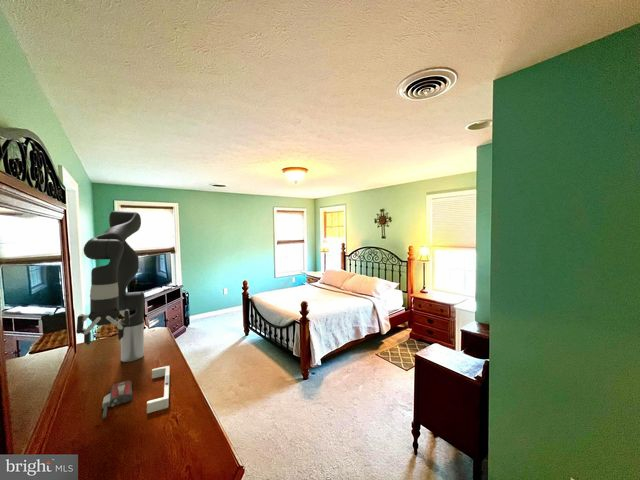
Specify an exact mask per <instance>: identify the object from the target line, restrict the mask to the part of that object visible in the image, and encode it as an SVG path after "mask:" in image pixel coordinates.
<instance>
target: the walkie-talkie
mask: <svg viewBox="0 0 640 480" xmlns="http://www.w3.org/2000/svg"><path fill="white" fill-rule="evenodd" d="M132 400H133V382H132V380H129V379H127V380H124V381H121V382H116V383H114V384H113V385H111V387H110V390H109V393H108V394H107V395H105V396H104V397H103V399H102V404H101V408H102V409H103V411H102V419H106V418H107V415H108V408H109V407H114V406H118V405H120V404H126V403H128V402H131V401H132Z"/></svg>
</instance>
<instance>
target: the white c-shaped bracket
mask: <svg viewBox="0 0 640 480" xmlns="http://www.w3.org/2000/svg"><path fill="white" fill-rule="evenodd" d="M170 368H171V367H170V365H165V366H161V367H156V368H152V369H151V371H152V372H151V379H157V378H162V377H164V385H163V386H164V387H163V390H164V391H163V397H159V398H155V399H151V400H148V401H147V402H146V414H150V413H154V412H156V411H161V410H165V409H168V408H169V405H170V404H169V398H170V397H169V396H170V375H171V374H170Z"/></svg>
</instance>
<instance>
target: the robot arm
mask: <svg viewBox="0 0 640 480" xmlns="http://www.w3.org/2000/svg"><path fill="white" fill-rule="evenodd" d="M108 223H109V228H107V229H106V230H105V231H104V232H103V233H102V234H99V235H97V236H94V237H92V238H90V239H88V240H87V242H86V243H85V244H84V246H83V253H84V255H85V257H86V258H88V259H89V260H95V261H96V260H109V262H108V263H107V264H106V265H105V264H104V265H100V266H99V265H98V266H95V267H92V269H91V272H90V275H91V279H90V282H91V283H90V284H91V285H90V290H89V292H90V294H89V299H90V300H89V301H90V305H89V306H90V307H89V308H90V311H89V314H84V313H80V314H79V315H78V316H77V318H76V319H77V320H76V330H75V332H76V334H77V335H78V334H82V335H83V342H84V344H86V345H87V346H90V345H91V343H92V332H91V331H92V329H93V328H95V326H98V327H100V326H104V325H105V326H108V325H113V326H114V327H117V328H118V329H117V330H118V331H117V332H118V333H117V335H118V336H117V337H118V339H117V340H118V341H120V361H121V362H123V363H124V362H125V363H126V362H127V363H129V362H133V361H134V362H135V361H137V360H139V359H142V358H143V357H144V354H145V353H144V350H145V349H144V343H145V342H144V341H145V340H144V339H145V337H144V336H145V335H144V332H145V328H144V327H145V326H144V325H145V321H144V318H145V317H144V316H145V301H146V299H145V297H146V296H145V293H144V292H143V291H133V292H132V291H131V292H128V291H127V288H128V286H129V284H130V282H131V281H132V280H133V279H135V276H136V275H137V274H138V272H139V270H140V263H139V261H140V260H139V255H138V254H137V252H136V251H135V250H134V248H133V247H131V246H130V245H129V243H128V242H127V238H129V237H131V236H132V235H134V234H135V233H137V232H139V230H140V228H141V227H142V226H141V224H142V217H141V215H140V214H139V212H136V211H129V210H128V211H127V210H112V211H110V213H109V219H108ZM132 311H133V312H134V311H135V313H133V314H131V313H130V312H132ZM130 314H131V315H130ZM120 315H121V316H122V317H124V318H122V319H121V320H120V319H119V318H118V317H119V316H120ZM87 319H89V320H90V321H91V323H90V325H89V326H88V327H87V328H84V325H85V324H84V322H85V321H87Z"/></svg>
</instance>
